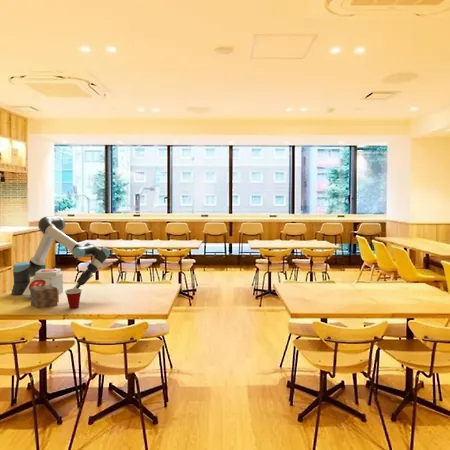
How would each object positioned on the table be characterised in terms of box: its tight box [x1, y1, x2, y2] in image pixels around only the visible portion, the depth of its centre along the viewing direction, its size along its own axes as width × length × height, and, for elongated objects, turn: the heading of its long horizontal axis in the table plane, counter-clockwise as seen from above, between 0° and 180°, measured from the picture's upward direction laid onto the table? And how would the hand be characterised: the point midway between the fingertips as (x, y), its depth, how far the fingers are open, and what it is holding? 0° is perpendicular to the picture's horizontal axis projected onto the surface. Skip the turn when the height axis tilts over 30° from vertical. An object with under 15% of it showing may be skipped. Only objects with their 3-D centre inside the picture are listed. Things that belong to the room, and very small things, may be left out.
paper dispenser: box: [22, 268, 64, 299], centre depth 332 cm, size 19×30×18 cm, turn 167°
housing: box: [30, 285, 58, 310], centre depth 304 cm, size 13×14×12 cm
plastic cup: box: [64, 287, 83, 310], centre depth 297 cm, size 11×11×12 cm
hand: (73, 291), depth 318 cm, fingers closed
